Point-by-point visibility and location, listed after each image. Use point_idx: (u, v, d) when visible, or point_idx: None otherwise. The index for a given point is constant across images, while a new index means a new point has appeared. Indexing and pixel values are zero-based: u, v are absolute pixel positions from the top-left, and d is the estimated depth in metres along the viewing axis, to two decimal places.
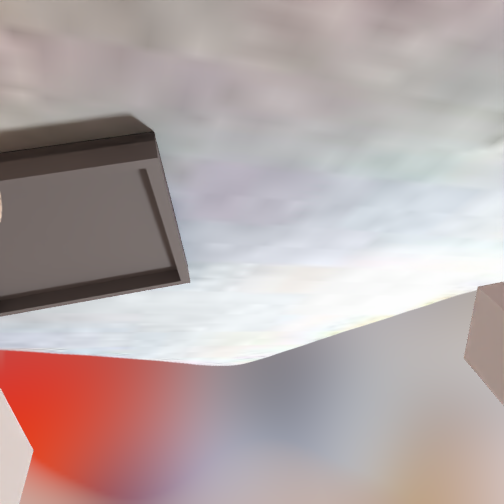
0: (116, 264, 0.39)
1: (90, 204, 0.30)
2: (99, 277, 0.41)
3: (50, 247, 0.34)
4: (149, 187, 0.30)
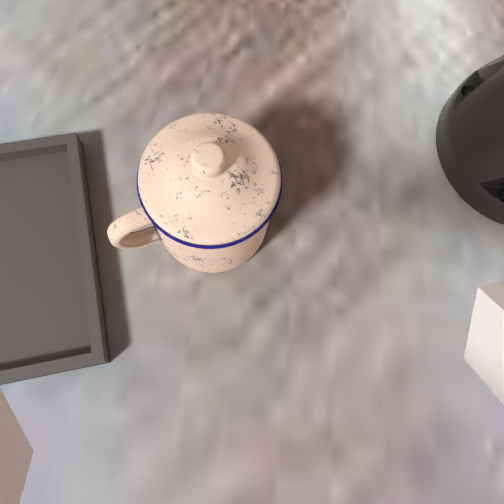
0: None
1: (23, 307, 0.33)
2: None
3: None
4: (41, 359, 0.33)
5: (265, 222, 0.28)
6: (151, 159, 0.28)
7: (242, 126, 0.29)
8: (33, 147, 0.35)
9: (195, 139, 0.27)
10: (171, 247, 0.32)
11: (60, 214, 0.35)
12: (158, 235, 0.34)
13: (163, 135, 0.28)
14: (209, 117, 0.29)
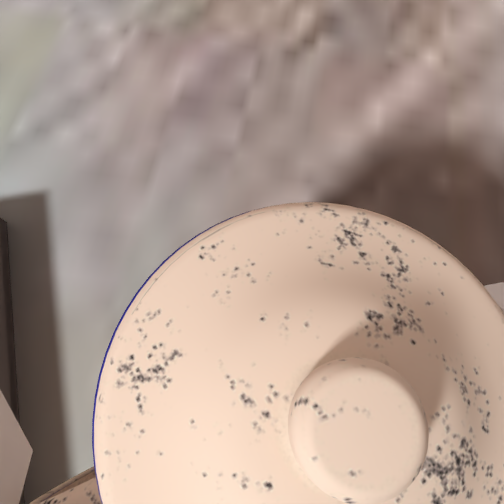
0: None
1: None
2: None
3: None
4: None
5: None
6: (139, 370, 0.08)
7: (420, 252, 0.09)
8: None
9: (290, 319, 0.08)
10: None
11: None
12: None
13: (178, 284, 0.09)
14: (319, 222, 0.09)
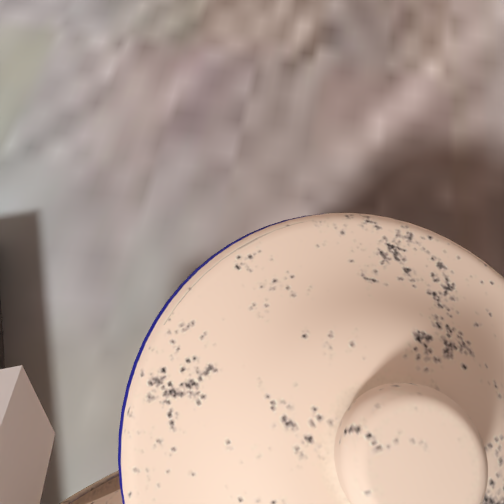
0: None
1: None
2: None
3: None
4: None
5: None
6: (171, 384, 0.08)
7: (466, 269, 0.09)
8: None
9: (335, 337, 0.07)
10: None
11: None
12: None
13: (213, 294, 0.09)
14: (361, 235, 0.09)
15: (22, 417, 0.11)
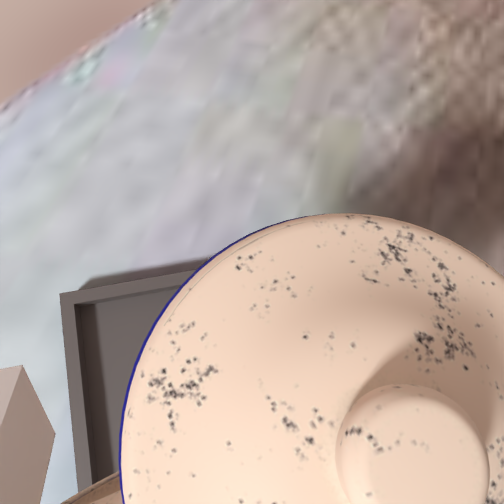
0: None
1: None
2: (117, 454, 0.27)
3: None
4: None
5: None
6: (171, 385, 0.08)
7: (467, 270, 0.09)
8: None
9: (335, 339, 0.07)
10: None
11: None
12: None
13: (213, 295, 0.08)
14: (362, 235, 0.09)
15: (22, 417, 0.11)
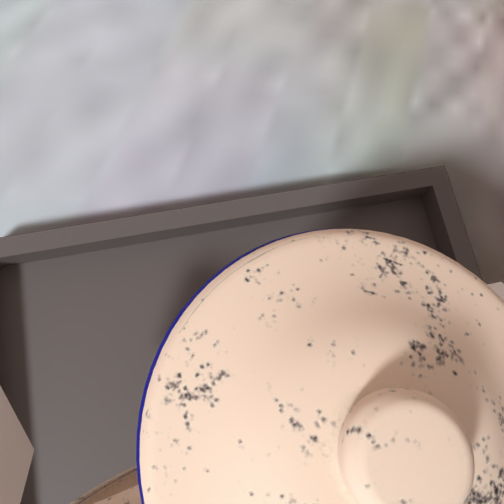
0: None
1: None
2: None
3: None
4: None
5: None
6: (186, 388, 0.09)
7: (457, 282, 0.10)
8: (377, 193, 0.19)
9: (337, 346, 0.08)
10: None
11: None
12: None
13: (224, 305, 0.09)
14: (361, 250, 0.10)
15: None
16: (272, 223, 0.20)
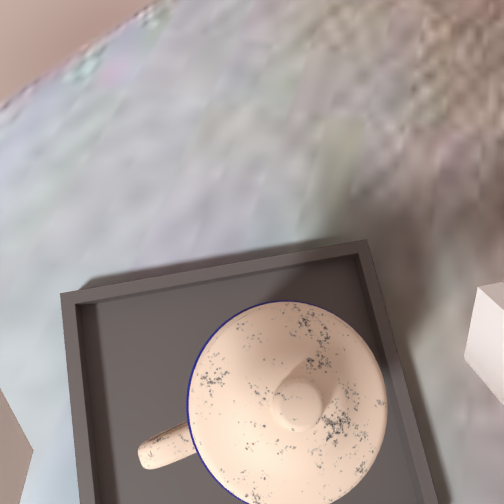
0: (160, 483, 0.27)
1: None
2: (119, 455, 0.27)
3: None
4: None
5: None
6: (210, 378, 0.20)
7: (336, 329, 0.20)
8: (322, 258, 0.30)
9: (275, 360, 0.19)
10: None
11: None
12: None
13: (227, 341, 0.20)
14: (291, 314, 0.21)
15: None
16: (256, 276, 0.30)
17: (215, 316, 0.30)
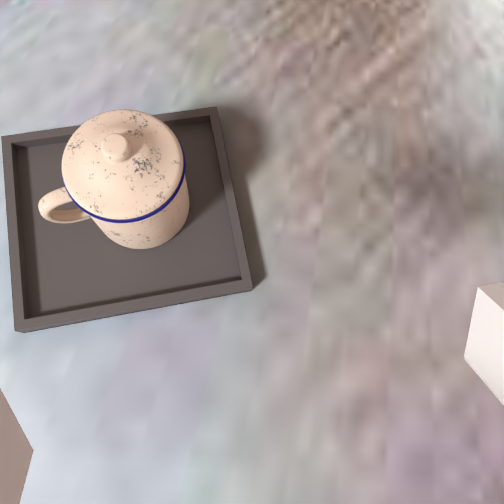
0: (66, 257, 0.40)
1: (181, 245, 0.41)
2: (39, 240, 0.41)
3: None
4: (198, 286, 0.40)
5: (166, 203, 0.33)
6: (73, 145, 0.33)
7: (153, 122, 0.34)
8: (184, 118, 0.43)
9: (109, 130, 0.32)
10: (96, 223, 0.37)
11: (205, 172, 0.43)
12: (89, 213, 0.39)
13: (85, 126, 0.34)
14: (126, 113, 0.34)
15: None
16: None
17: None
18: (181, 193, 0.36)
